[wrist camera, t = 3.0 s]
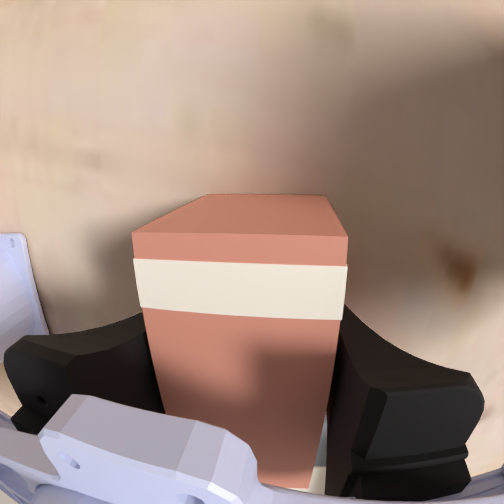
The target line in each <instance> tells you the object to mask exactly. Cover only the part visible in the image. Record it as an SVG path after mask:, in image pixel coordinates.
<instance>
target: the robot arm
mask: <svg viewBox="0 0 504 504" xmlns="http://www.w3.org/2000/svg"><path fill="white" fill-rule="evenodd" d="M3 361H4V367H5V370H6V373H7V376H8V378H9V380H10V382H11V384H12V386H13V388H14V390H15V392H16V394H17V396H18V398H19V400H20V402H21V404H22V405H23V406H22V407H21V408H20V409H19V410H18V411H17V412H16V413H15V414H14V415H13V416H12V417H11V416H9V415H7V414H6V413H4V412H2V411H1V410H0V489H1V490H2V491H3V492H4V493H6V494H7V495H8V496H9V497H11V498H12V499H13V500H14V501H16V502H17V503H18V504H504V464H503V465H502V467H501V468H499V469H496V470H493V471H490V472H487V473H484V474H480V475H477V476H474V477H470V474H469V471H468V468H467V465H466V462H465V459H466V458H467V456H468V450H467V447H466V445H465V443H466V442H467V440H468V438H469V437H470V435H471V433H472V432H473V430H474V428H475V427H476V425H477V423H478V422H479V420H480V417H481V415H482V413H483V410H484V402H485V401H484V398H483V395H482V392H481V391H480V389H479V387H478V386H477V384H476V382H475V381H474V379H473V377H472V376H471V374H470V373H468V372H463V371H459V370H454V369H450V368H446V367H442V366H439V365H436V364H433V363H430V362H427V361H425V360H422V359H420V358H417V357H415V356H413V355H411V354H409V353H407V352H405V351H403V350H401V349H399V348H397V347H396V346H394V345H392V344H391V343H389V342H388V341H386V340H385V339H383V338H382V337H380V336H379V335H378V334H376V333H375V332H374V331H373V330H371V329H370V328H369V327H368V326H367V325H365V324H364V323H363V322H362V321H361V320H360V319H359V318H358V317H357V316H356V315H355V314H354V313H353V312H352V311H351V310H350V309H349V308H348V307H347V306H346V305H345V304H344V307H343V315H342V320H340V327H339V335H338V342H337V349H336V356H335V362H334V369H333V375H332V381H331V387H330V392H329V398H328V403H327V409H326V415H327V456H326V477H325V492H324V495H322V494H315V493H309V492H304V491H298V490H293V489H288V488H284V487H279V486H275V485H271V484H266V483H262V482H259V481H258V477H257V460H256V458H255V456H254V454H253V452H252V450H251V448H250V446H249V445H248V444H247V443H246V442H244V441H243V440H241V439H240V438H238V437H237V436H235V435H234V434H232V433H231V432H229V431H228V430H226V429H225V428H221V427H218V426H214V425H211V424H208V423H205V422H202V421H199V420H192V419H187V418H181V417H176V416H171V415H166V413H165V409H164V406H163V402H162V398H161V394H160V390H159V386H158V382H157V378H156V374H155V369H154V365H153V361H152V356H151V351H150V347H149V342H148V337H147V332H146V327H145V321H144V316H143V312H142V313H139V314H137V315H135V316H132V317H130V318H128V319H125V320H122V321H119V322H116V323H113V324H110V325H107V326H103V327H99V328H95V329H90V330H85V331H81V332H74V333H66V334H56V335H50V334H49V331H48V328H47V325H46V322H45V318H44V315H43V311H42V308H41V304H40V301H39V297H38V293H37V289H36V285H35V281H34V277H33V272H32V268H31V263H30V258H29V253H28V248H27V242H26V238H25V236H24V235H23V234H22V233H0V364H1V363H2V362H3Z"/></svg>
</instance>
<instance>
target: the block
mask: <svg viewBox="0 0 504 504" xmlns="http://www.w3.org/2000/svg"><path fill="white" fill-rule="evenodd" d="M131 233H132V242H133V250H134V258H133V263H134V270H135V277H136V283H137V290H138V296H139V302H140V307H142V310H143V316H144V321H145V327H146V332H147V337H148V342H149V347H150V351H151V356H152V361H153V365H154V369H155V374H156V378H157V382H158V386H159V390H160V394H161V398H162V402H163V406H164V409H165V413H166V415H171V416H176V417H181V418H187V419H192V420H199V421H202V422H205V423H208V424H211V425H214V426H218V427H221V428H225V429H226V430H228V431H229V432H231V433H232V434H234V435H235V436H237V437H238V438H240V439H241V440H243V441H244V442H246V443H247V444H248V445H249V446H250V448H251V450H252V452H253V454H254V456H255V458H256V460H257V477H258V481H259V482H262V483H266V484H271V485H275V486H279V487H284V488H304V489H308V488H309V484H310V480H311V476H312V472H313V468H314V464H315V460H316V456H317V451H318V447H319V443H320V438H321V433H322V429H323V424H324V419H325V414H326V409H327V403H328V398H329V392H330V387H331V381H332V375H333V369H334V362H335V356H336V349H337V342H338V335H339V327H340V320H342V315H343V307H344V298H345V289H346V279H347V268H348V266H347V264H346V261H347V248H348V235H347V233H346V232H345V230H344V228H343V226H342V224H341V223H340V221H339V219H338V217H337V216H336V214H335V212H334V210H333V208H332V207H331V205H330V203H329V202H328V200H327V198H326V196H323V195H285V194H207V195H205V196H203V197H201V198H199V199H197V200H195V201H192V202H190V203H188V204H186V205H184V206H182V207H180V208H178V209H176V210H174V211H172V212H170V213H168V214H166V215H164V216H162V217H160V218H158V219H156V220H154V221H152V222H150V223H148V224H146V225H144V226H142V227H140V228H139V229H137V230H135V231H133V232H131Z"/></svg>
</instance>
